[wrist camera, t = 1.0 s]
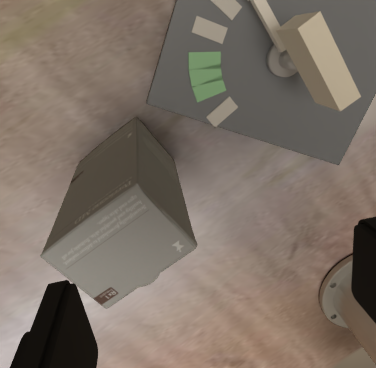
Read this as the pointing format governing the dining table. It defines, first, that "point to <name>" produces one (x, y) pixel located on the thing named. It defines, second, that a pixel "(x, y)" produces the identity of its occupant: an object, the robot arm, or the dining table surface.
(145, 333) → the dining table surface
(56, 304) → the robot arm
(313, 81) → the beige block on stand
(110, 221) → the skincare box
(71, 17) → the dining table surface
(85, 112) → the dining table surface
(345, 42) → the tuner board
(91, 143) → the dining table surface
